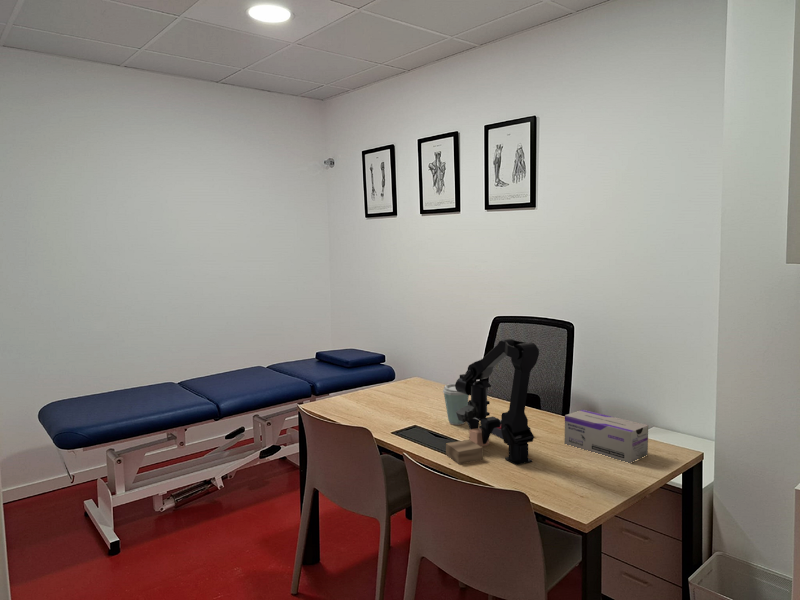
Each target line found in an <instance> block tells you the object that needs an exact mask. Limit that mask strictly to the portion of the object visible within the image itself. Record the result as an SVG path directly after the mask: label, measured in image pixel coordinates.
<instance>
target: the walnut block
mask: <svg viewBox="0 0 800 600" xmlns="http://www.w3.org/2000/svg"><path fill="white" fill-rule="evenodd" d="M483 451H484V448H483V446H479V445H478V444H476V443H474V442H473V441H471V440H469V439H464V440H457V441H451V442H447V443H445V456H446V455H447V456H446V457H447V458H449V459H450V458H451V459H450V460H452V462H454V463H456V464H458V465H464V464H468V463H469V464H470V463H474V461H475V462H479V461H480V462H481V461H483V460H484V459H483V458H484V455H483V454H484V452H483Z"/></svg>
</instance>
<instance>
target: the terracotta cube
mask: <svg viewBox="0 0 800 600" xmlns="http://www.w3.org/2000/svg"><path fill="white" fill-rule="evenodd" d="M468 433H469V439H468V440H471V441H473V442H474V443H476V444H478V445H479V446H481V447H484V446H489V445H490V438H489V439H488V441H487V443H486V444H483V441H482V430H481V429H480V428H479V427H478V428H476V429H469V430H468Z"/></svg>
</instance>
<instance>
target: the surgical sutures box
mask: <svg viewBox="0 0 800 600" xmlns="http://www.w3.org/2000/svg"><path fill="white" fill-rule="evenodd" d="M565 444H567V445H566V446H569V445H571V446H570V447H572V446H574V447H573V448H575V447H577V448H576V449H578V448H581V449H580V450H582V449H584V450H583V451H585V450H588V451H591V452H590V453H592V452H595V453H598V454H602V455H605V456H608V457H611V458H610V459H612V458H614V459H613V460H615V459H618V460H621V461H620V462H622V461H625V462H628V463H631V462H633V461H635V460H637V459H640V458H642V457H644V456H646V455H649V451H648V450H649V449H648V448H649V425H648V424H645V423H641V422H635V421H633V420H632V421H631V420H627V419H624V418H619V417H615V416H611V415H606V414H603V413H599V412H595V411H589V410H586V409H580V410H578V411H574V412H570V413H568V414H565V415H564V445H565ZM588 451H587V452H588ZM595 453H594V454H595ZM598 454H597V455H598ZM602 455H601V456H602ZM605 456H604V457H605ZM608 457H607V458H608ZM642 459H643V458H642ZM618 460H617V461H618ZM640 460H641V459H640ZM625 462H624V463H625ZM628 463H627V464H628ZM631 464H632V463H631Z"/></svg>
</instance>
